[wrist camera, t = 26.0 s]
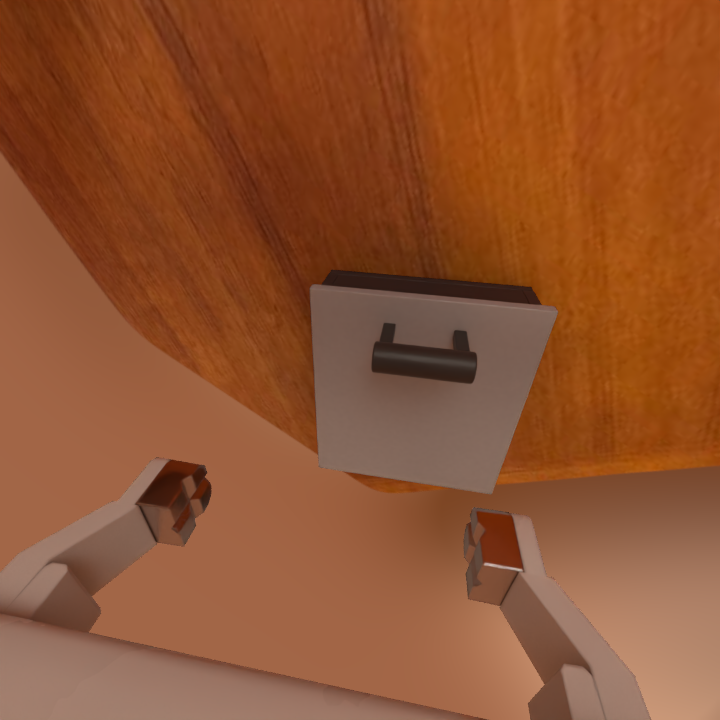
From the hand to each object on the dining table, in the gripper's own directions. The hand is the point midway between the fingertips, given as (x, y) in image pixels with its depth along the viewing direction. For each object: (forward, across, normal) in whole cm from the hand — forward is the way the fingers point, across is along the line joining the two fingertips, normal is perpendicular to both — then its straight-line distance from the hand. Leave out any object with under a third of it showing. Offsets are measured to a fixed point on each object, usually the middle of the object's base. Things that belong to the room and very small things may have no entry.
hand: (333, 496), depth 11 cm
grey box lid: (+13, -3, +6) cm, 14 cm away
